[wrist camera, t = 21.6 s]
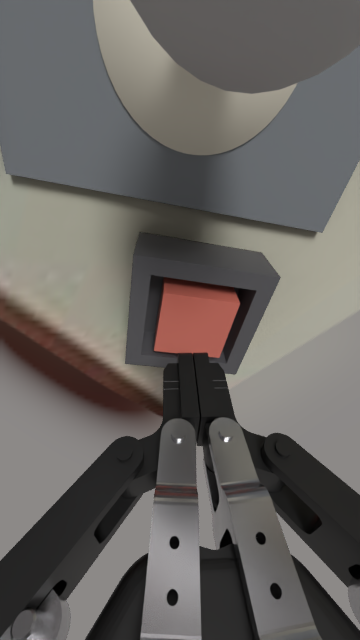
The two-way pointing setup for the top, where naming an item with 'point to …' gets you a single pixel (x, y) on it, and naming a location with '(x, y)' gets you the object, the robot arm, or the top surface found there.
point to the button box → (200, 266)
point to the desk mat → (167, 119)
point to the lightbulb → (253, 38)
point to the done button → (194, 317)
